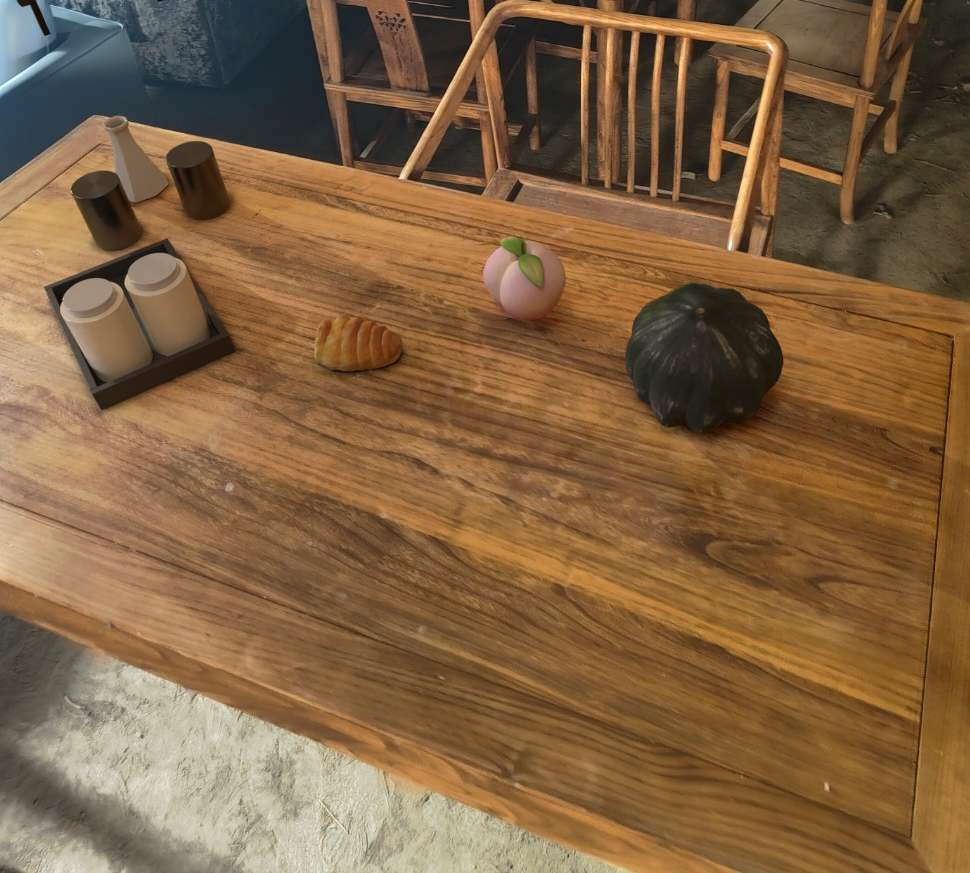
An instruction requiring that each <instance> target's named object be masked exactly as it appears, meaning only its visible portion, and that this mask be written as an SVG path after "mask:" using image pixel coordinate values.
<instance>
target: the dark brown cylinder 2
mask: <svg viewBox="0 0 970 873" xmlns="http://www.w3.org/2000/svg"><path fill="white" fill-rule="evenodd" d="M165 155H166V156H165V163H166V165H167V168H168V171H169V173H170V176H171V178H172V181H173V183H174V186H175V189H176V191H177V194H178V196H179V199H180V202H181V204H182V207H183V209H184V212H185V214H186V215H187V217H189V218H190V219H192V220H198V221H208V220H211V219H215V218H217V217H220V216H221V215H223V214H224V213H226V211H228V209H229V208H230V206H231V199H230V196H229V194H228V190H227V187H226V184H225V182H224V178H223V175H222V172H221V169H220V166H219V164H218V160H217V158H216V154H215V152H214V149H213V146H212V145H211V144H210V143H208V142H205V141H201V140H191V141H186V142H183V143H180V144H177V145H175V146H173V147H172V148H171V149H170V150H169V151H167V153H166V154H165Z"/></svg>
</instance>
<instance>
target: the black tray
mask: <svg viewBox="0 0 970 873" xmlns="http://www.w3.org/2000/svg"><path fill="white" fill-rule="evenodd" d="M154 253H166V254H169V255H171V256H173V257H174V258H177V259H179V260H181V261H182V262H183V260H182V258H181V257H180V256H179V254H178V252H177V251H176V249H175V247H174V246H173V244H172V243H171V241H170V239H169V238H167V237H166V238H164V239H162V240H159V241H157V242H156V241H155V242H153V243H151V244H149V245H145V246H144V247H141V248H138V249H136V250H132V251H131V252H128V253H126V254H123V255H121V256H119V257H115V258H113V259H111V260H108V261H105V262H103V263H101V264H98V265H95V266H93V267H90V268H88V269H85V270H83V271H80V272H78V273H75V274H73V275H70V276H67V277H65V278H63V279H60V280H58V281H55V282H52V283H50V284H47V285H44V286H43V289H44V291H45V294H46V296H47V298H48V301H49V303H50V304H51V307H52V309H53V311H54V313H55V316H56V318H57V320H58V323H59V325H60V327H61V329H62V331H63V333H64V336H65V338H66V340H67V343H68V344H69V347H70V349H71V351H72V353H73V356H74V357H75V360H76V362H77V364H78V366H79V370H80V371H81V374H82V376H83V378H84V381H85V383H86V385H87V386H88V389H89V391H90V393H91V395H92V397H93V399H94V401H95V402H96V404H97V405H98V408H99V409H100V411H104V410H106V409H108V408H111V407H112V406H115V405H117V404H119V403H122V402H124V401H127V400H129V399H131V398H133V397H135V396H138V395H140V394H143V393H145V392H147V391H149V390H152V389H154V388H156V387H158V386H160V385H163V384H165V383H167V382H169V381H172V380H174V379H176V378H179V377H181V376H184V375H186V374H188V373H190V372H193V371H194V370H196V369H197V370H198V369H199V368H201V367H203V366H206V365H208V364H211V363H213V362H215V361H217V360H219V359H222V358H224V357H227V356H228V355H229V356H230V355H231V354H233V353H235V352H236V349H235V347H234V346H235V345H234V344H233V342H232V338H231V336H230V334H229V332H228V331H227V329H226V327H225V326H224V325H223V323H222V321H221V320H220V318H219V316H218V315H217V313H216V312H215V311H214V309H213V307H212V306H211V304H210V302H209V301H208V299H207V298H206V296H205V295H204V293H203V292H202V290H201V288H200V287H199V285H198V283H197V282H196V281H195V279H194V278H193V276H192V274H191V273H190V271H189V270H188V269H187V271H188V273H189V275H190V278H191V280H192V283H193V285H194V288H195V290H196V293H197V295H198V298H199V300H200V302H201V305H202V307H203V310H204V312H205V315H206V317H207V320H208V322H209V325H210V327H211V335H210V338H209V339H207V340H205V341H203V342H200V343H198V344H196V345H193V346H191V347H189V348H186V349H184V350H182V351H179V352H177V353H175V354H173V355H170V356H165V355H162V354H160V353H159V352H158V351H157V350H156V349H155V347H154V345H153V343H152V341H151V339H150V337H149V335H148V333H147V331H146V329H145V327H144V325H143V322H142V320H141V318H140V316H139V314H138V312H137V310H136V308H135V306H134V304H133V302H132V300H131V297H130V295H129V293H128V291H127V289H126V287H125V278H126V276H127V274H128V270H129V268H130V266H131V265H132V264H133V263H134V262H135V261H137V260H138V259H140V258H142V257H144V256H146V255H149V254H154ZM92 278H102V279H106V280H108V281H109V282H113V283H115V284H117V285H119V286H120V287H121V288H122V290H123V292H124V294H125V296H126V298H127V300H128V302H129V304H130V306H131V308H132V310H133V313H134V315H135V317H136V319H137V321H138V323H139V325H140V327H141V329H142V331H143V333H144V335H145V337H146V339H147V341H148V343H149V346H150V348H151V350H152V352H153V359H152V362H151V364H149V365H147V366H145V367H143V368H140V369H138V370H136V371H133V372H131V373H129V374H126V375H124V376H122V377H119V378H117V379H115V380H113V381H110V382H108V383H107V382H104V381H102V380H100V379H98V378H97V377H96V375H95V373H94V372H93V370H92V368H91V366H90V365H89V363H88V361H87V359H86V358H85V356H84V354H83V352H82V350H81V349H80V347H79V345H78V343H77V342H76V340H75V338H74V336H73V335H72V333H71V331H70V329H69V327H68V326H67V324H66V322H65V320H64V319H63V317H62V315H61V312H60V307H61V304H62V302H63V297H64V295H65V293H66V292H67V291H68V290H69V289H70V288H71V287H72V286H73V285H75V284H77V283H79V282H81V281H84V280H87V279H92Z"/></svg>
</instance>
